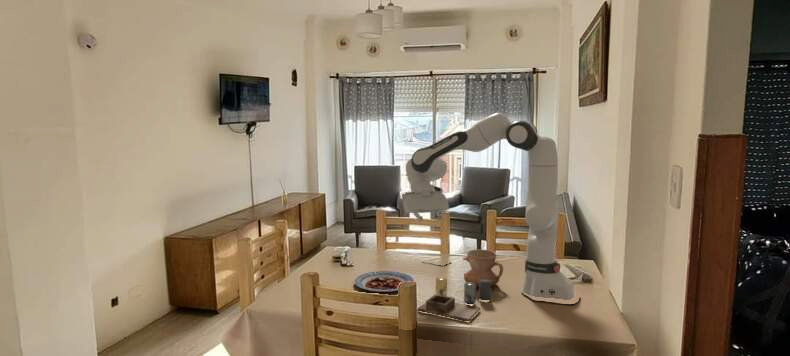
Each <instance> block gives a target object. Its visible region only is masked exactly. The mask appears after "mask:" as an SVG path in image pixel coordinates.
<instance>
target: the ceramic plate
mask: <svg viewBox="0 0 790 356" xmlns="http://www.w3.org/2000/svg"><path fill="white" fill-rule="evenodd" d="M402 281H410V282H414V283H415V279H414V277H413V276H411V275H409V274H406V273H404V272H399V271H393V270H378V271H371V272H370V271H369V272H366V273H363V274H361V275H358V276H357V277H355V279H354V284H355V286H357V287H358V288H360V289H363V290H367V291H370V292H382V293H383V292H386V293H387V292H397V291H398V290H397V289H398V285H399V283H400V282H402Z"/></svg>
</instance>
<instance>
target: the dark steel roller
mask: <svg viewBox="0 0 790 356" xmlns="http://www.w3.org/2000/svg"><path fill="white" fill-rule="evenodd" d="M463 288H464V289H463V290H464V291H463V296H464V297H463V303H464V302H465V303H467V304H474V303H475V302H476V303H477V301H476V298H477V296H476V295H477V294H476V293H477V292H476V291H477V290H476V289H477V287H476V284H475V283H473V282H466V281H465V283H464V285H463Z"/></svg>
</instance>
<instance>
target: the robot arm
mask: <svg viewBox="0 0 790 356" xmlns="http://www.w3.org/2000/svg"><path fill="white" fill-rule="evenodd" d="M501 140H506V141H507V143H508V144H509V145H510V146H511V147H513V148H516V149H519V150H522V151H524V152H525V151H527V153H528V182H527V183H528V186H527V192H526V203H525V214H524V215H525V217H524V219H525V222H526V224H527V226H528V227H529V228H528V235H527V240H526V241H527V242H526V259H525V261H524V273H525V276H524V281H523V285H522V289H521V291H522V290H523V292H524V293H526V294H528V295H530V296H535V297H543V298H555V299H563V300H570V299H572V298H573V297H574V292H575V287H574V283H573V281H572V280H571V279H570V278H569V277H568V276H566V275H565V274H564V273H563V272H562V271H561V262H557V261H556V245H557V244H556V243H557V235H558V226H559V215H560V210H559V205H558V204H557V202H556V199H557V191H558V174H559V173H558V172H559V171H558V168H559V163H558V161H559V159H558V151H557V150H558V149H557V145H556V141H555V139H553V138H550V137H548V136H541V135H539V133H538V129H537V127H536V125H535V124H534V123H532V122H530V121H528V120H527V119H518V120H515V121H511V120H510V119H509V118H508V117H507V115H506V114H504V113H501V112H496V113H493V114H490V115H488V116H485V118H482V119H481V120H479V121H478V122H476V123H475V124H473V125H471V126H470V127H467V128H465V129H463V130H460V131H456V132H453V133H451V134H449V135H447V136H446V137H444V138H441V139H440V140H438V141H436V142H434V143H433V144H431V145H429V146H424V147H421V148H418V149H417V150H415V152H413V154H412V156H411V158H410V159H409V160H408V161H407V162H406V163H405V172H406V177H407V181H408V183H409V184H410V186H409V188H410V191H409V192H408V191H404V192H403V193H402V194H401V199H402V201H403V202H402V203H403V209H404V212H405V213H406V214H411V213H412V214H413V216H414V217H415V218H416V219H417V221H418V222H423V221H424V217H423V215H420V213H421V214H423V213H426V214H427V213H429V214H430V213H436V214H437V215H438V216H437V217H436V219H437V221H438V222H442V221H443V213H446V212H447V211H448V210H449V208H450V206H449V201H448V199H447V197H446V195H445V194H444V193H443V192H444V190H443V188H442V187H438V186H436V185H433V184H431V182H434V181H437V180H440V179H442V178H443V177H444V176H445V175H446V174H447V170H448V164H447V161H445V159H442V158H441V157H443V156H445V155H447V154H449V153H452V152H454V151H459V150H460V151H461V150H462V151H468V152H473V153H480V152H482V151H485V150H487V149H488V148H490V147H491V146H493V145H495V144H496V143H498V142H499V141H501Z"/></svg>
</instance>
